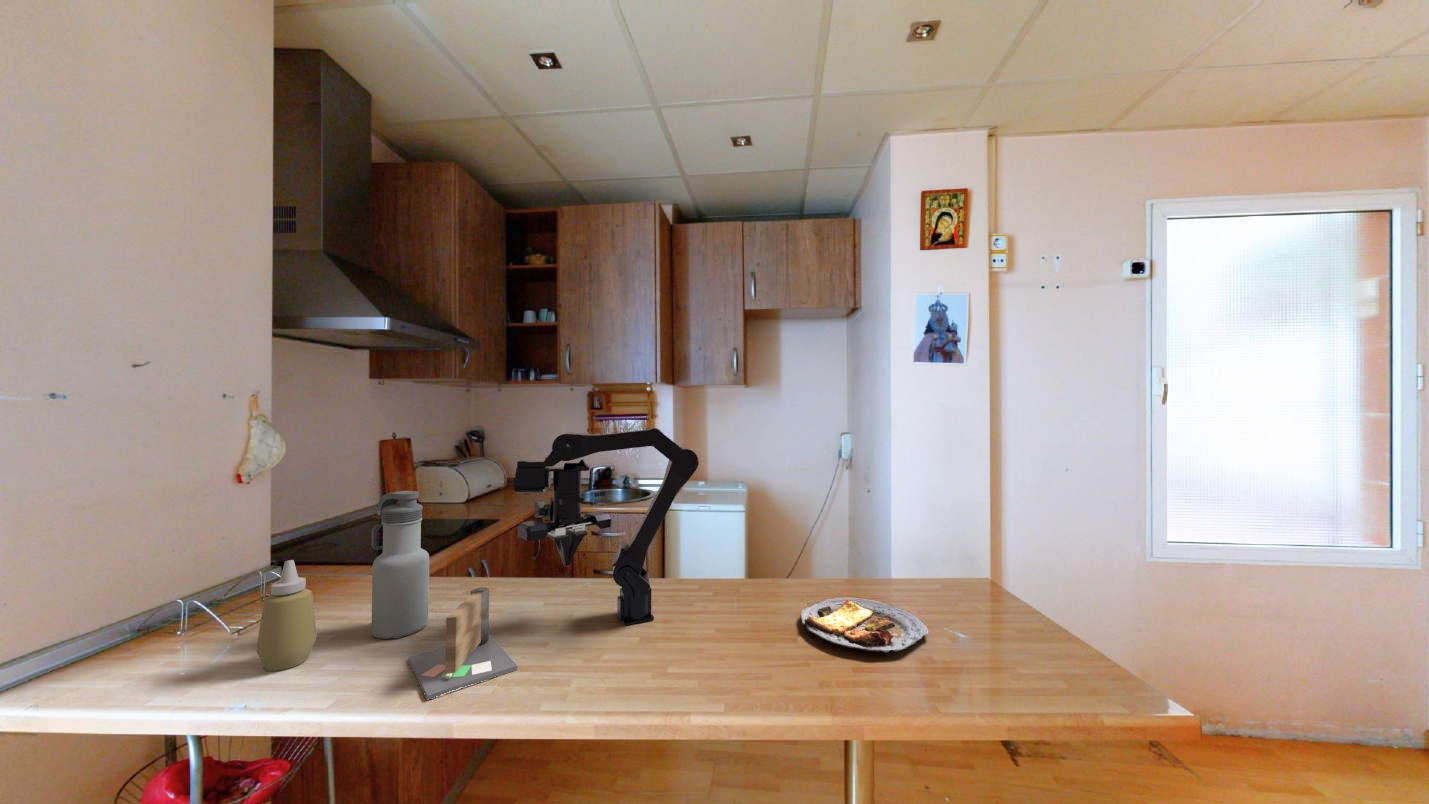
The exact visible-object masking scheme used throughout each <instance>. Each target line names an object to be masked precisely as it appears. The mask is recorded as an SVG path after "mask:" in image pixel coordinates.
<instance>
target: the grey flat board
mask: <svg viewBox="0 0 1429 804" xmlns="http://www.w3.org/2000/svg"><path fill="white" fill-rule="evenodd" d="M445 657H446V644H445V645H443V646H439V647H435V648H431V649H428V650H425V651H421V652H417V653H414V654H411V655H408V656H407V658H408V659H407V660H408V663H409V665H410V666H411V669H412V672H413V673H414V675H415V677H416V680H417V682H418V683H419V686H420V688H421V687H422V688H421V691H422V692H423V694H424V693H425V695H424V696H426V697H425V699H426V698H427V699H426V700H428V699H432V698H434V697H436V696H440V695H441V694H444V693H447V692H449V691H452V690H456V689H458V688H460V687H465V686H468V685H471V684H475V683H478V682H481V681H484V680H486V679H490V680H492V679H494V678H493V677H495V676H498V677H500V676H499V675H501V676H504V675H506V673H507V674H509V672H510V673H513V672H515V671H517V670H518V665H517V663H516V662H515V661H514V660H513V659H512V658H511V657H510V655H508V654H507V652H506V651H505V650H504V649H503V648H502V647H501V645H499V643H498V642H497V641H496V640H495V639H494V638H493V637H492V636H491V634H490V633H489V639H488V641H487V642H485V643H482V644H479V645H478V646H477V647H476V648H475V649H474V651H473V652H472V653H471V654H470V655H469V657H468V658H467V659H466V660H465V661H464V663H463V664H462V665H461V666H460V667H459V669H458V670H457V671H456V672H455V673H454V674H453V675H452V676H451V677H450V678H447V679H445V676H446V675H447V673H445ZM512 671H513V672H512ZM503 674H504V675H503ZM491 678H492V679H491ZM495 678H496V677H495ZM484 682H485V681H484ZM481 683H482V682H481ZM478 684H479V683H478ZM475 685H476V684H475ZM432 700H433V699H432Z"/></svg>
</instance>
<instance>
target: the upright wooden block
mask: <svg viewBox="0 0 1429 804" xmlns="http://www.w3.org/2000/svg"><path fill="white" fill-rule="evenodd" d="M489 626H490V588H489V587H477V588H474V589H472V590H470V595H469V596H468V597H467V598H466V599H465V600H464V601H463V602H461V604H459V605H458V606H457V607H456V608H455V609H454V610H453V611H451V613H450V614H448V615H447V616H446V617H445V645H446V657H445V673H447V675H446V676H445V679H447V678H450V677H451V676H452V675H453V674H454V673H455V672H456V671H457V670H458V669H459V667H460V666H461V665H462V664H463V663H464V661H465V660H466V659H467V658H468V657H469V655H470V654H471V653H472V652H473V651H474V649H475V648H476V647H477V646H478V645H479V644H482V643H485V642H487V641H488V639H489V634H490V627H489Z"/></svg>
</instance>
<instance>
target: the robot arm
mask: <svg viewBox="0 0 1429 804" xmlns="http://www.w3.org/2000/svg"><path fill="white" fill-rule="evenodd" d="M646 447H653V448H654V449H655V450H657V451H658V452H659V453H661V455H663V456H664V457H665V458H667V459H668V462H667V466H666V467H665V472H664V477H663V479H662V482H661V484H660V486H659V488H658V490H657V492H656V494H655V496H654V498H653V500H652V501H651V503H650V505H649V507H648V509H647V510H646V513H645V514H644V516H643V518H642V520H641V522H640V524H639V525H638V527H637V529H636V531H635V533H634V535H633V537H632V538H631V539H630V540H629V541H628V542H627V543H626V542H624V541H623V540H622V541H621V542H620V545H619V548H618V550H617V551H616V553H615V554H614V555H613V556H612V578H613V581H614V582H615V584H616V585H618V586H619V587H621V588H619V595H618V596H617V598H616V599H617V600H616V602H617V603H616V604H617V606H616V607H617V609H616V611H617V612H616V614H617V615H616V616H617V617H618V618H619V619H620V621H621V622H622V623H623V625H624V626H629V625H635V624H639V623H644V622H649V621H654V620H655V616H654V615H653V614H652V593H653V592H652V587H651V584H650V582H651V581H650V576H649V572H648V570H646V569H645V568H644V565H645V563H646V557H647V554H648V550H649V547H650V546H651V544H652V541H653V540H654V538H655V536H656V534H657V532H658V530H659V528H660V526H661V525H662V523H663V520H664V519H665V518H666V515H667V513H668V512H669V510H670V507H671V506H672V504H673V502H674V500H675V498H676V496H677V495H678V492H679V491H680V490H681V489H682V488H683V487H684V486H685V485H686V483H687V482H688V481H690V479H691V477H692V476H693V475H694V473H695V472H696V471H697V470H698V467H699V463H700V461H699V456H698V455H697V453H696V452H694V451H693V450H691V449H690V448H687V447H685V446H684V447H682V446H679V445H678V444H677V443H675V442H674V441H673V440H672V439H670V438H669V437H668V436H667V435H665V433H664V432H663V431H662V430H661V429H660V428H658V427H651V428H650V427H649V428H648V429H640V430H633V431H632V430H630V431H620V432H619V431H618V432H612V433H603V434H592V433H582V432H580V433H579V432H565V433H562V434H559V435H558V436H557V437H556V438H555V439H554V440H553V442H552V445H551V452H549V454H548V455H547V456H546V457H544V460H537V461H536V460H526V459H524V460H523V459H522V460H521V459H520V460H518V461H517V462H516V465H517V466H516V469H515V474H514V477H513V489H514V492H515V494H535V493H536V494H537V493H539V494H540V493H545V492H546V490H547V489H548V488H551V487H552V495H551V496H550V498H549V503H548V504H547V503H546V501H543V500H542V501H537V502H534V503H533V515H534V518H535V519H536V520H535V519H534V520H528V521H522V522H520V524H519V525H518V526H517V537H518V538H521V539H523V540H524V541H527V542H533V541H541V540H544V539H545V538H546V537H547V538H549V539H551V540H553V542H554V543H555V545H556V547H557V551H558V553H559V556H560V559H561V562H562V564H563V566H564V567H569V566H570V565H571V563H572V560H573V559H574V556H575V553H576V552H577V550H578V548H579V546H580V544H581V543H582V540H583V538H584V537H585V536H588V535H589V532H588V531H586V527H589V526H594V525H595V526H596V527H597V528H598V529H599V530H601V529H608V528H612V526H613V518H612V517H611V514H609V513H607V512H603V511H601V510H596V511H591V512H590V511H589V512H585V514H584V515H583V516H582V503H584V500H585V499H584V496H582V472H587V471H590V469H591V465H590V464H588V463H587V462H586V460H585V459H584V458H583V457H587V456H590V455H593V454H597V453H601V452H602V453H603V452H609V451H610V452H611V451H619V450H627V449H629V450H630V449H636V448H637V449H638V448H646ZM580 458H582V459H580ZM578 459H580V460H579V462H570V461H573V460H574V461H575V460H578ZM560 462H564V463H563V466H559V467H554V466H556V465H558V464H559V463H560ZM552 473H553V474H552ZM552 477H553V478H552ZM551 485H552V486H551ZM546 488H547V489H546ZM538 518H542V521H541V520H538ZM545 522H546V523H545Z"/></svg>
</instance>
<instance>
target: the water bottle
mask: <svg viewBox="0 0 1429 804" xmlns="http://www.w3.org/2000/svg"><path fill="white" fill-rule="evenodd" d="M419 492H420V491H415V490H414V491H413V490H400V491H394V492H389V493H385V494H384V495H382V496H381V497H380V499H379V502H378V504H377V509H376V510H377V511H376V514H377V516H380V523H379V524H375V525H374V526H373V527H372V529H371V535H370V536H371V539H370V540H371V542H370V543H371V544H370V545H371V548H372V549H373V550H376V551H379V550H382V552H381V553H380V554H379V555H378V556H376V558H374V560H373V562H372V574H371V575H372V576H371V577H372V579H371V581H372V585H371V627H370V628H371V631H370V632H371V634H372V636H373V637H375V638H377V639H383V640H391V639H390V638H393V639H399V637H400V638H404V637H407V635H408V636H410V634H411V635H413V634H416V633H418V632H419V631H421V630H423V628H425V627H426V626H427V625H428V623H429V607H430V606H429V603H430V600H429V599H430V598H429V596H430V591H429V590H430V554H429V552H428V551H427V550H426V549H423V548H422V547H421V543H422V541H421V539H422V536H421V535H422V526H421V525H422V521H423V518H422V517H423V509H424V508H423V505H422V504H420V503H417V502H418V501H417V500H418V498H419ZM380 528H382V545H380V546H379V545H378V544H377V532H378V530H379V529H380ZM403 636H404V637H403Z"/></svg>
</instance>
